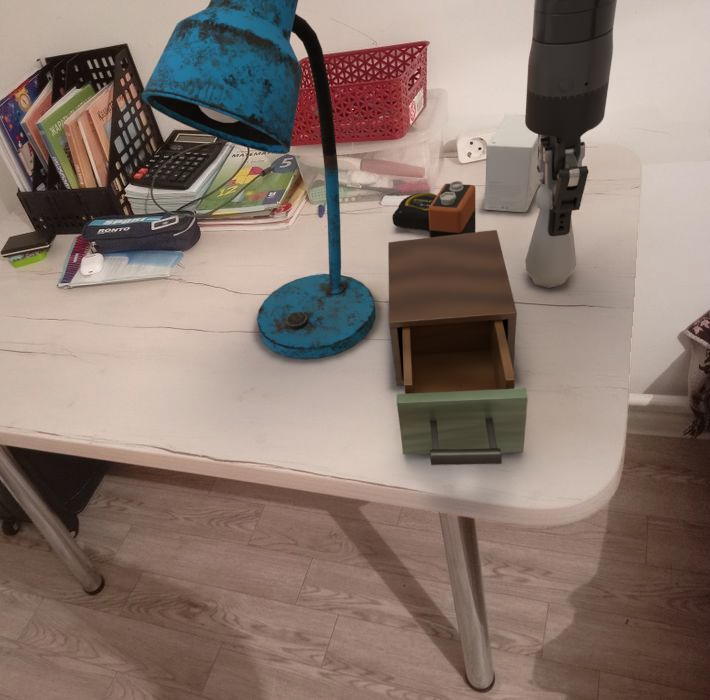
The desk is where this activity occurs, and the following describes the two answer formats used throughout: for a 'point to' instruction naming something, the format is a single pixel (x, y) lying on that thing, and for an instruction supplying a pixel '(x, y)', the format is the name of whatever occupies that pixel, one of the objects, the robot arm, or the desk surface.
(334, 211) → the desk lamp
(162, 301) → the desk surface
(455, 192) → the battery
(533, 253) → the salt shaker
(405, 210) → the tape measure
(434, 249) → the cabinet
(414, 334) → the drawer
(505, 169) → the cosmetics box
